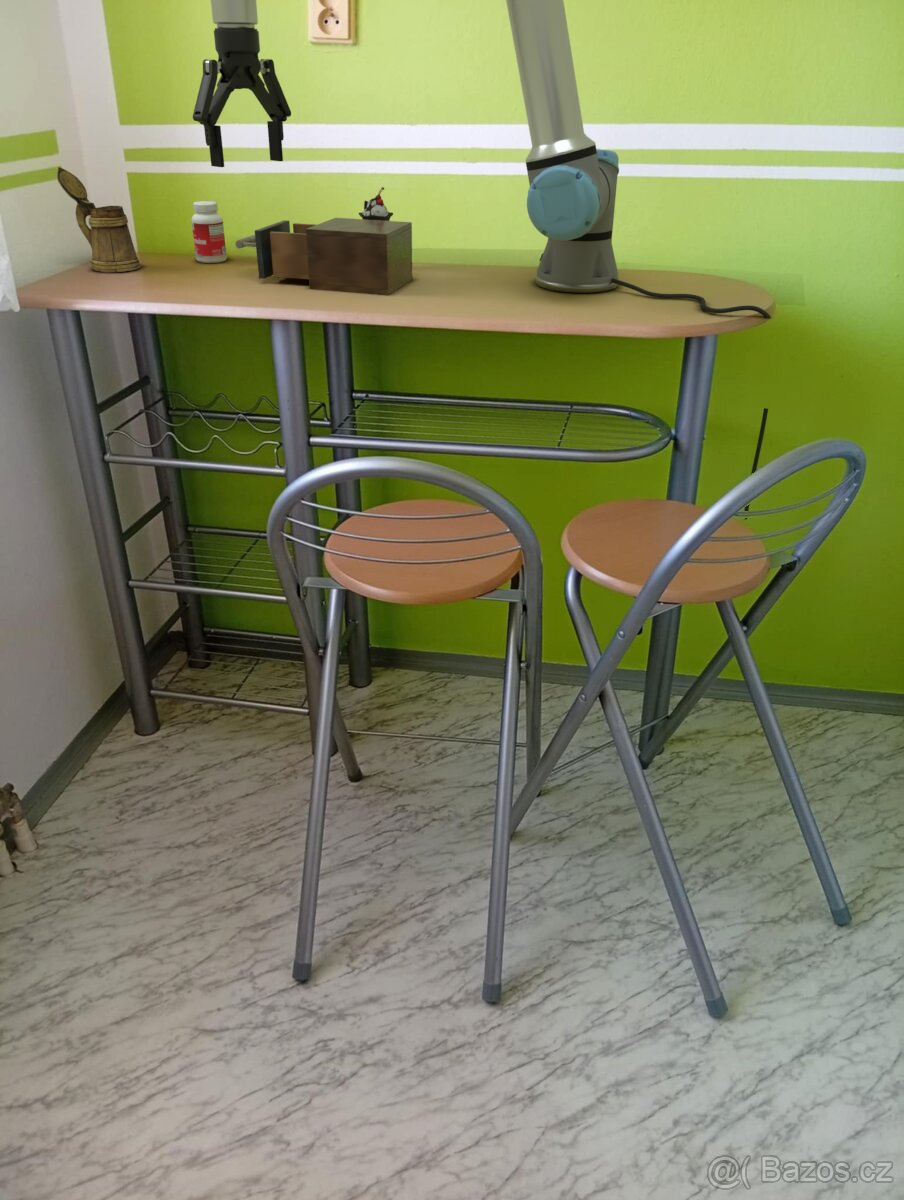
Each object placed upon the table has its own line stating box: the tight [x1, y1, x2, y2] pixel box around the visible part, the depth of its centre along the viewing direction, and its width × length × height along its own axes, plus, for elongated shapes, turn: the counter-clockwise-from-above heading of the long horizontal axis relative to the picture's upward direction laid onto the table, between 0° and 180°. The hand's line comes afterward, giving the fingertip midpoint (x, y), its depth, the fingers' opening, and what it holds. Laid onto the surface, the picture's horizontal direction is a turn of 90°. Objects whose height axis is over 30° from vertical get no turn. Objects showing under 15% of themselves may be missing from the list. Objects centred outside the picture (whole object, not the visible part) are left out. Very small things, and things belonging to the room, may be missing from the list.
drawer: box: [234, 220, 317, 280], centre depth 177 cm, size 20×12×8 cm, turn 73°
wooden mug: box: [56, 166, 142, 274], centre depth 182 cm, size 9×14×18 cm, turn 76°
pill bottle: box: [191, 200, 228, 264], centre depth 191 cm, size 6×6×11 cm
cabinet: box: [306, 217, 413, 296], centre depth 174 cm, size 15×13×10 cm
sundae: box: [358, 186, 394, 221], centre depth 185 cm, size 7×7×15 cm
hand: (248, 163), depth 172 cm, fingers open, 13 cm apart
